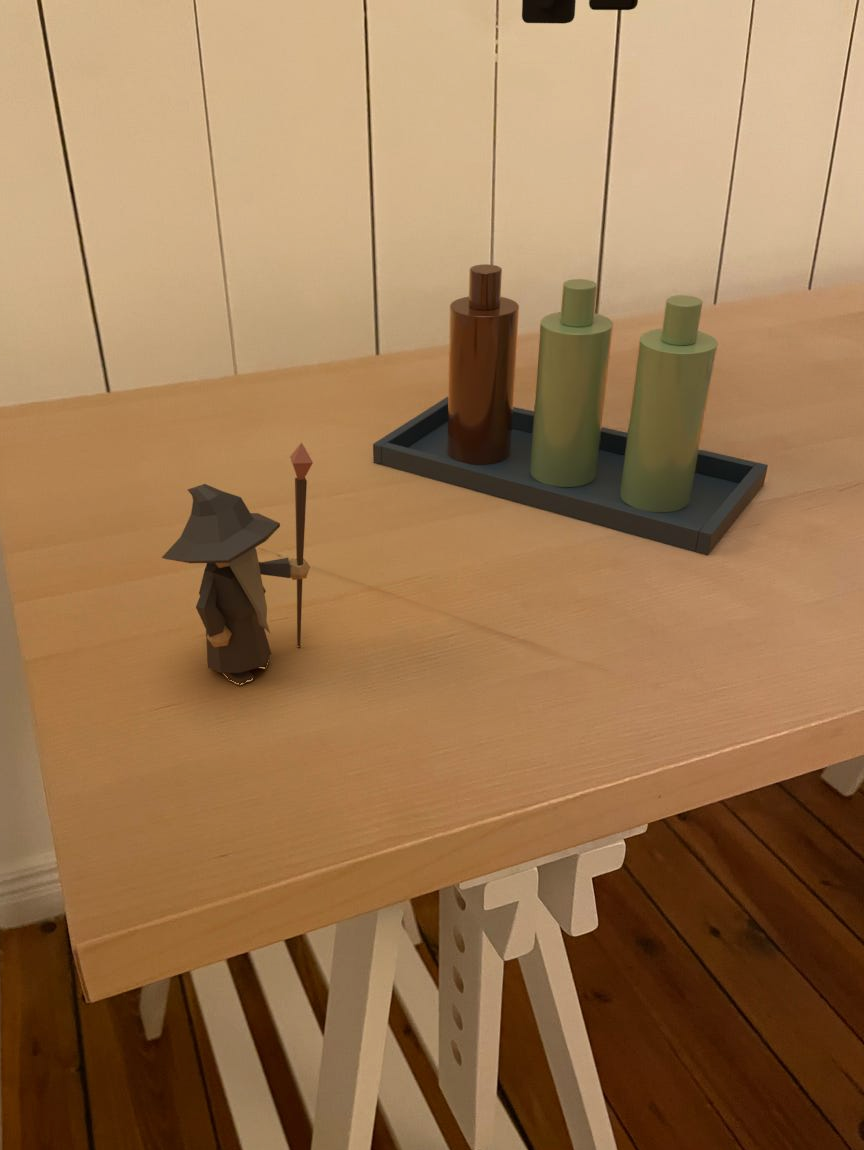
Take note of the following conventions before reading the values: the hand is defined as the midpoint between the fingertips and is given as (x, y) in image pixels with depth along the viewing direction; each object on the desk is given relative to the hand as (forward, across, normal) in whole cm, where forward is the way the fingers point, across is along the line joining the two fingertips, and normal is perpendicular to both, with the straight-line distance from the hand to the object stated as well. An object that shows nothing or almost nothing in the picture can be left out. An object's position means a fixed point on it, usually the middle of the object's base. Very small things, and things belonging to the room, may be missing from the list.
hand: (581, 15), depth 63 cm
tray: (+28, -6, -4) cm, 29 cm away
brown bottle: (+28, -6, +3) cm, 29 cm away
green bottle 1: (+28, -6, -4) cm, 29 cm away
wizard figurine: (+28, -36, +2) cm, 45 cm away
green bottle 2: (+28, -7, -11) cm, 31 cm away
